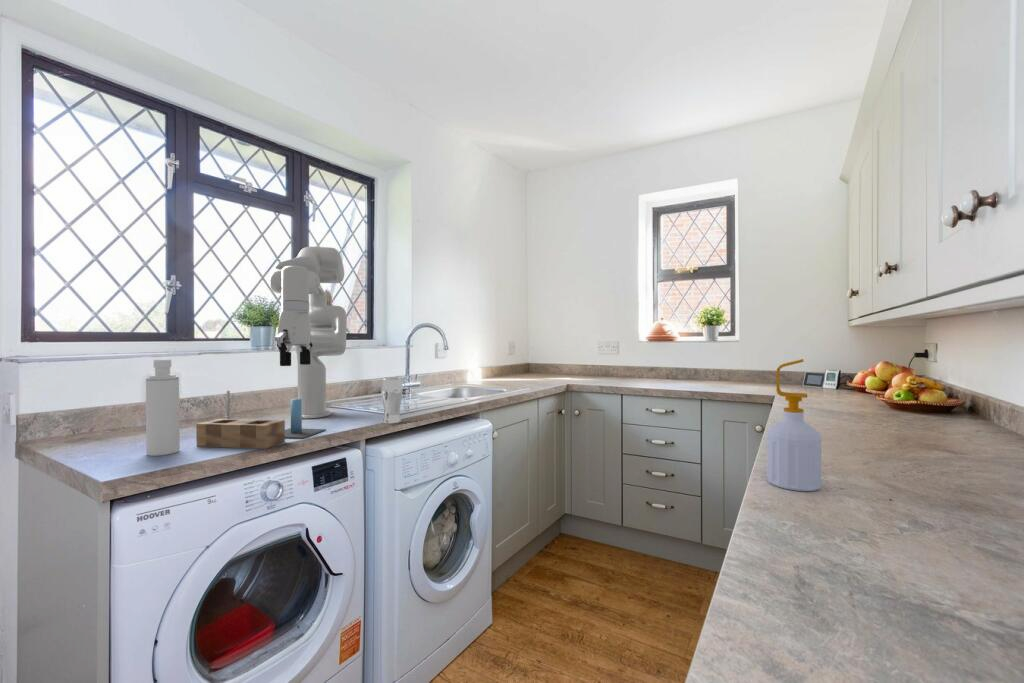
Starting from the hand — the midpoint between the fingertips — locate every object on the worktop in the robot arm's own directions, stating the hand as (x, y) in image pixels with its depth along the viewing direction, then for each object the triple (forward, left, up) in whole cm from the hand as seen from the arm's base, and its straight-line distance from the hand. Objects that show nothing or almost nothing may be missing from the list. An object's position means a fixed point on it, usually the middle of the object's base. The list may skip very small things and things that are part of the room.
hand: (295, 365), depth 137 cm
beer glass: (-22, +21, -21) cm, 37 cm away
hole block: (+14, -7, -21) cm, 26 cm away
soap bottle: (+31, +125, -21) cm, 130 cm away
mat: (0, 0, -21) cm, 21 cm away
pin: (0, 0, -20) cm, 20 cm away
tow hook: (-2, -22, -21) cm, 31 cm away
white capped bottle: (+25, -20, -21) cm, 38 cm away
